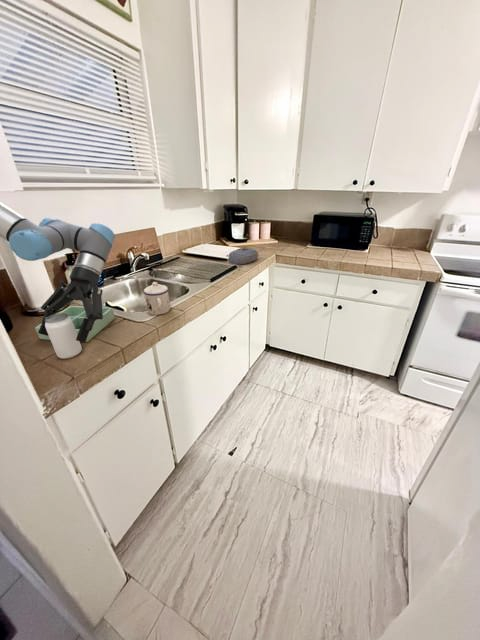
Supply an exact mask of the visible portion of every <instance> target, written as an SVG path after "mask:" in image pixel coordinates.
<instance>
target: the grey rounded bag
mask: <svg viewBox="0 0 480 640" xmlns="http://www.w3.org/2000/svg"><path fill="white" fill-rule="evenodd" d="M258 259H259V252H258V251H257V250H256V249H255V248H251V247H240V248H237V249H235V250H232V251H230V252H229V253H228V261H229V262H230V263H231V264H234V265H238V266H239V265H247V264H251V263H253V262H256V261H257V260H258Z"/></svg>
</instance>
